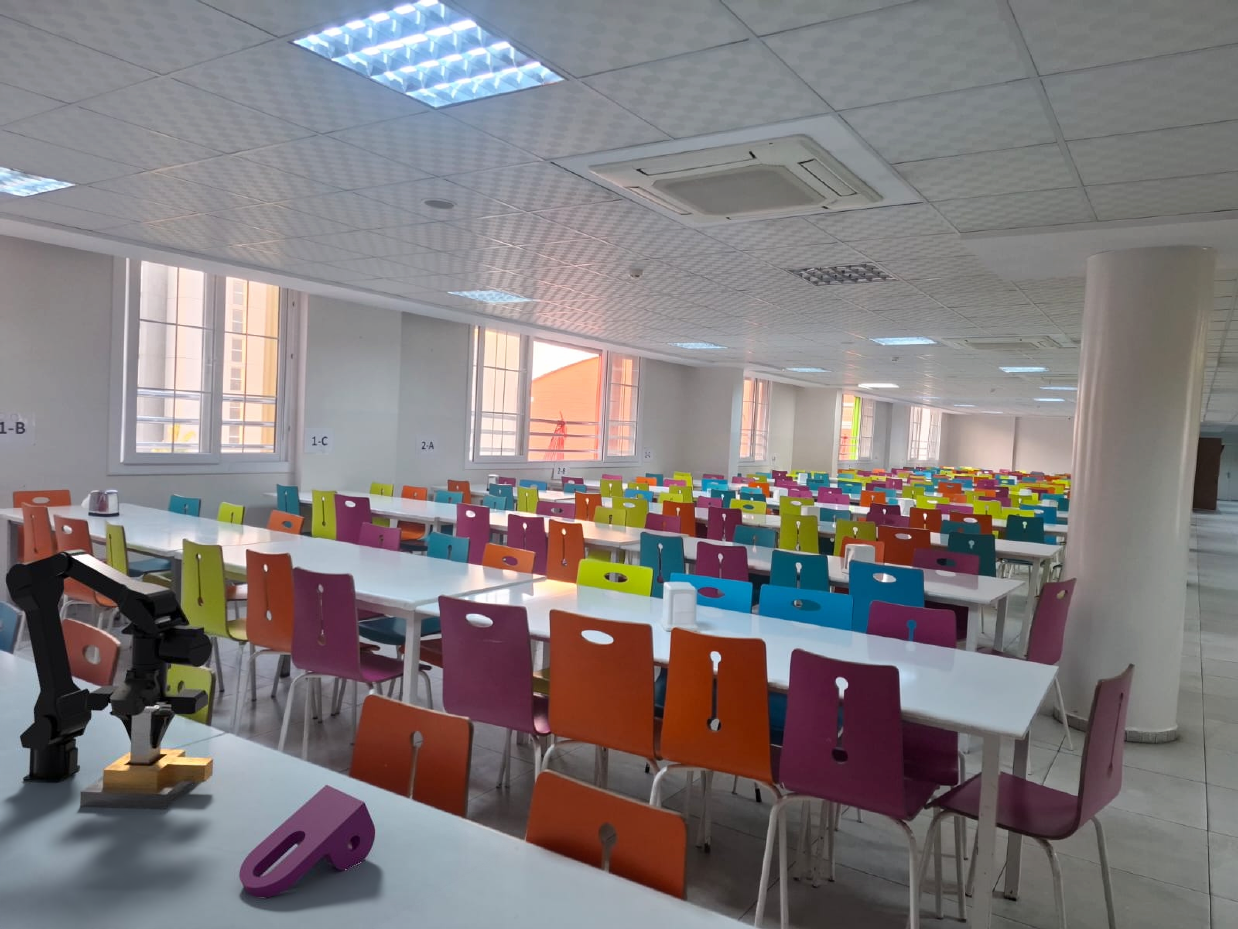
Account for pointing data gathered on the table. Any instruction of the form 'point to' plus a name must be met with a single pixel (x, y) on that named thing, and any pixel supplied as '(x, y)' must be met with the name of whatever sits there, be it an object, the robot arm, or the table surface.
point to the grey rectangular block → (144, 737)
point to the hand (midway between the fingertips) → (145, 747)
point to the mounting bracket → (310, 842)
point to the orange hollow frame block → (147, 781)
